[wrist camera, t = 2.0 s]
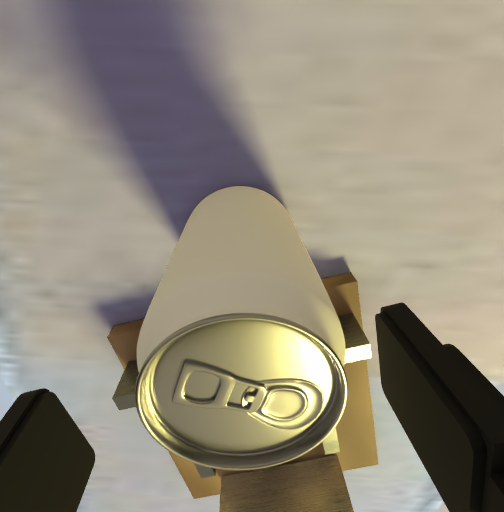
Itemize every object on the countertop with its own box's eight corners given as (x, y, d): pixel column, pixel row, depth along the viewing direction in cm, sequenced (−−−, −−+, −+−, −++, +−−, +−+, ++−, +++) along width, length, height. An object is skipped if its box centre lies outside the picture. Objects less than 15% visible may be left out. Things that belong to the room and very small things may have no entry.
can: (272, 295, 21) (307, 494, 10) (174, 269, 20) (99, 459, 9) (310, 204, 19) (411, 338, 8) (202, 168, 18) (143, 265, 7)
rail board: (350, 272, 21) (357, 281, 20) (372, 450, 28) (378, 464, 27) (113, 325, 22) (107, 337, 21) (195, 484, 29) (194, 498, 28)
